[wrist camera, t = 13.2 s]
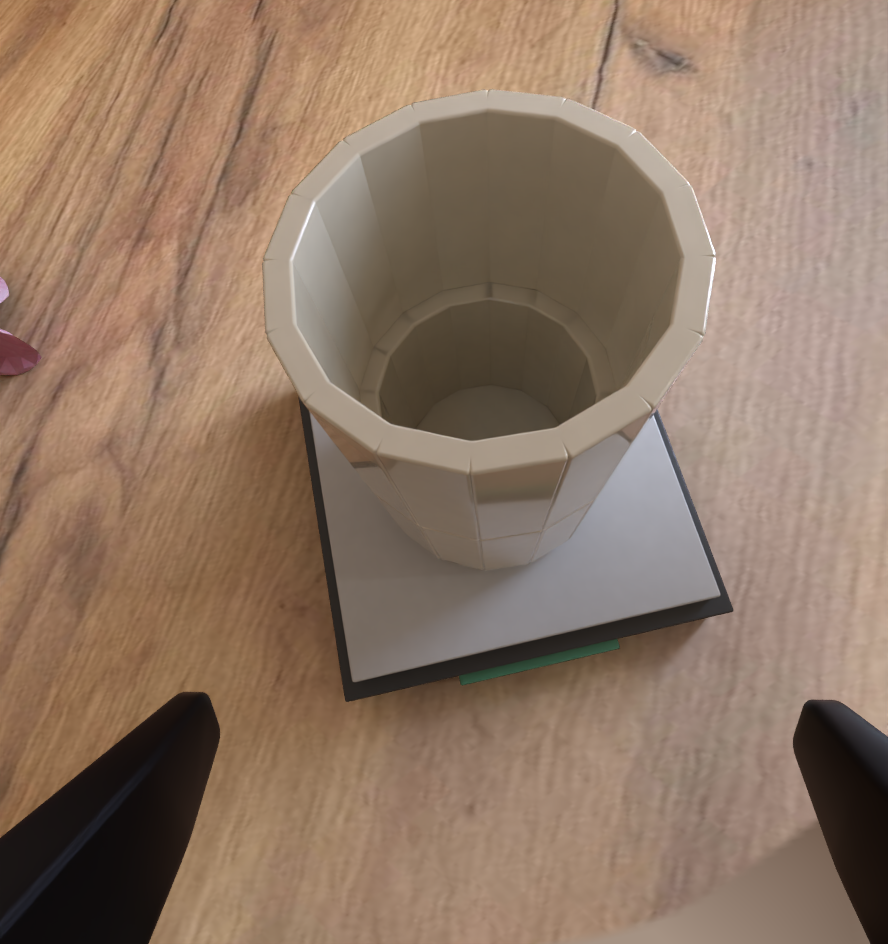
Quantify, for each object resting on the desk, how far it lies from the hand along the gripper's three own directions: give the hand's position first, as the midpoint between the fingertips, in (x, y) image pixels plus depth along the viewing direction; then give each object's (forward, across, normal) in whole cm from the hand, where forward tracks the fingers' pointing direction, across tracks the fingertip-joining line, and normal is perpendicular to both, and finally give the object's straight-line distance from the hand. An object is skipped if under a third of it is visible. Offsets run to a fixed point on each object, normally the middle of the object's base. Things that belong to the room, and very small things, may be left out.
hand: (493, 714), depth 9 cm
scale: (+12, 0, +3) cm, 13 cm away
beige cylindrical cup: (+10, 0, +1) cm, 10 cm away
